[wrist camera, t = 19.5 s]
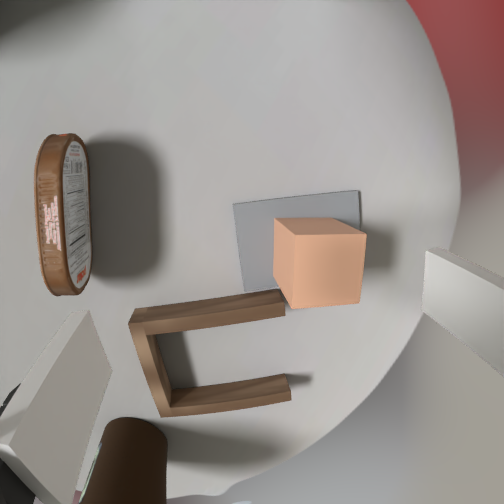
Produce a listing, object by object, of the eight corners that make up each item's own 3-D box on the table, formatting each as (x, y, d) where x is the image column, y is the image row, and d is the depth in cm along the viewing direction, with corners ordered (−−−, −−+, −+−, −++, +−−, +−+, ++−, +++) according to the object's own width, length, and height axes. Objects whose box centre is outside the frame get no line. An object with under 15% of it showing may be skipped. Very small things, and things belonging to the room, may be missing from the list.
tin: (69, 137, 27) (28, 131, 19) (96, 135, 27) (60, 126, 19) (75, 278, 31) (42, 310, 23) (100, 279, 31) (72, 312, 23)
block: (274, 217, 31) (295, 235, 24) (331, 217, 32) (366, 233, 24) (273, 276, 33) (291, 308, 25) (327, 273, 34) (359, 303, 26)
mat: (232, 204, 31) (233, 204, 30) (355, 190, 32) (358, 190, 32) (243, 289, 34) (244, 291, 33) (358, 270, 35) (360, 272, 34)
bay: (135, 308, 33) (128, 323, 29) (277, 288, 34) (284, 301, 31) (163, 399, 36) (161, 417, 33) (285, 382, 38) (291, 400, 34)
